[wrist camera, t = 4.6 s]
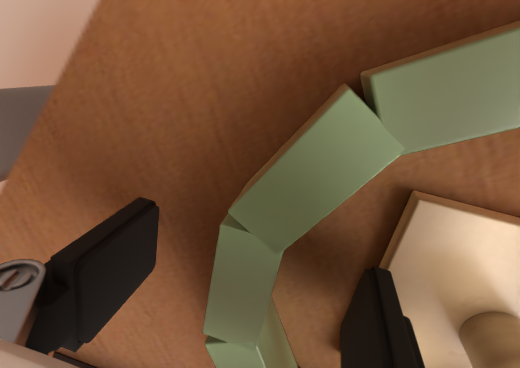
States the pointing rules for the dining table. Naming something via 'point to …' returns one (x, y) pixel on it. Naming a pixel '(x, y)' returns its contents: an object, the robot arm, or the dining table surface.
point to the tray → (71, 361)
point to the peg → (458, 282)
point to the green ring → (348, 174)
